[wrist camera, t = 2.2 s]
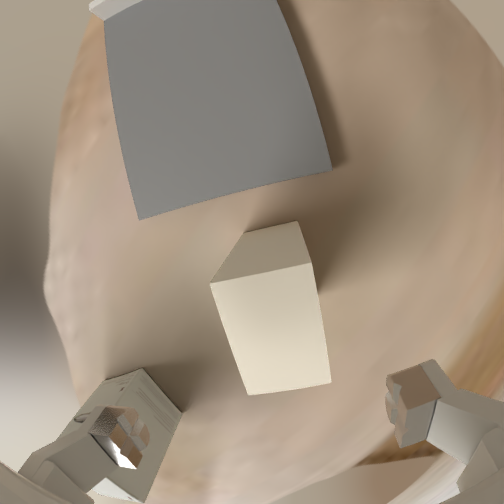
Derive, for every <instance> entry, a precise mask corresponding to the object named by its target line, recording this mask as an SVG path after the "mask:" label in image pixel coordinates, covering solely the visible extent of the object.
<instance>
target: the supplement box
mask: <svg viewBox="0 0 504 504" xmlns="http://www.w3.org/2000/svg"><path fill="white" fill-rule="evenodd" d="M99 404H104V405H114V406H124V407H131V408H135V410H136V411H137V413H138V414H139V418H138V419H139V420H141V421H142V422H143V423H145V425H146V426H147V428H148V430H149V433H150V441H149V443H148V446H147V447H146V448H145V449H143V450H142V451H141V452H142V455H143V457H142V459H141V461H140V463H139V465H138V468H137V469H133V468H127V467H121V466H118V468H117V469H115V470H114V471H113V472H112V473H111V474H109V475H108V476H107V477H106V478H105V479H103V480H102V481H101V482H100V483H98V484H97V485H96V486H95V487H93V488H92V490H94V491H95V492H97V493H98V494H100V495H103V496H108V497H113V498H118V499H123V500H129V501H135V502H141V503H144V502H145V500H146V498H147V496H148V493H149V491H150V489H151V486H152V484H153V482H154V479H155V477H156V475H157V472H158V470H159V468H160V465H161V463H162V461H163V458H164V456H165V454H166V451H167V449H168V447H169V444H170V442H171V439H172V437H173V435H174V432H175V430H176V428H177V425H178V423H179V421H180V418H181V416H182V413H181V412H180V411H179V410H178V409H177V407H176V406H175V405H174V404H173V403H172V402H171V401H170V400H169V398H168V397H167V396H166V395H165V394H164V393H163V392H162V390H161V389H160V388H159V387H158V386H157V385H156V383H155V382H154V381H153V380H152V379H151V378H150V376H149V375H148V374H147V373H146V372H145V370H144V369H142V368H140V369H138V370H136V371H133V372H131V373H128V374H125V375H122V376H119V377H116V378H112V379H108V380H104V381H103V382H102V383H101V384H100V385H99V387H98V388H97V389H96V390H95V391H94V393H93V394H92V395H91V396H90V397H89V399H88V400H87V401H86V402H85V404H84V405H83V406H82V407H81V409H80V410H79V411H78V412H77V414H76V415H75V416H74V417H73V419H72V420H71V421H70V423H69V424H68V425H67V427H66V428H65V429H64V431H63V432H62V434H60V436H59V437H58V438H57V440H58V439H60V438H62V437H64V436H66V435H67V434H69V433H71V432H73V431H78V429H79V428H80V427H81V425H82V424H83V423H84V421H85V420H86V418H87V417H88V416H89V414H90V413H91V412H92V410H93V409H94V408H95V406H96V405H99Z"/></svg>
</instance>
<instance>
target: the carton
mask: <svg viewBox="0 0 504 504" xmlns="http://www.w3.org/2000/svg"><path fill="white" fill-rule="evenodd" d="M210 287H211V290H212V293H213V296H214V299H215V302H216V305H217V308H218V311H219V314H220V317H221V320H222V323H223V326H224V329H225V332H226V335H227V338H228V341H229V344H230V347H231V350H232V352H233V355H234V358H235V361H236V364H237V366H238V369H239V372H240V375H241V377H242V380H243V383H244V385H245V388H246V391H247V393H248V395H256V394H265V393H273V392H280V391H287V390H294V389H300V388H306V387H311V386H317V385H322V384H327V383H331V375H330V368H329V361H328V354H327V347H326V341H325V334H324V328H323V322H322V316H321V310H320V304H319V299H318V293H317V288H316V282H315V277H314V272H313V267H312V262H311V259H310V256H309V253H308V250H307V247H306V244H305V241H304V238H303V235H302V232H301V229H300V226H299V224H298V221H294V222H290V223H285V224H281V225H276V226H272V227H268V228H263V229H259V230H254V231H250V232H246V233H243V234H242V236H241V237H240V239H239V240H238V242H237V243H236V245H235V246H234V248H233V249H232V251H231V252H230V254H229V255H228V257H227V258H226V260H225V261H224V263H223V264H222V266H221V267H220V269H219V270H218V272H217V273H216V275H215V276H214V278H213V279H212V281H211V282H210Z"/></svg>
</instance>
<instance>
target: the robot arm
mask: <svg viewBox="0 0 504 504" xmlns="http://www.w3.org/2000/svg"><path fill="white" fill-rule="evenodd" d="M386 386H387V388H388V390H389V391H388V393H387V394H386V400H385V403H386V411H387V414H388V418H389V420H390V422H391V423H392V424H394V425H395V431H394V433H395V436H396V439H397V441H398V444H399V446H400V448H403V447H406V446H409V445H412V444H414V443H417V442H420V441H423V440H425V439H427V441H428V442H430V443H431V444H433V445H434V446H436V447H438V448H439V449H441V450H442V451H444V452H446V453H447V454H449V455H451V456H452V457H454V458H456V459H457V460H459V461H461V462H462V463H464V464H466V465H467V466H466V468H465V469H464V471H463V472H462V474H461V476H460V477H459V479H458V481H457V482H456V483H457V485H458V488H459V490H460V494H458V495H456V496H454V497H452V498H450V499H448V500H446V501H444V502H441V503H439V504H504V402H501V401H498V400H495V399H492V398H488V397H485V396H482V395H479V394H476V393H473V392H470V391H467V390H464V389H460V390H457V389H456V387H455V386H454V385H453V383H452V382H451V381H450V379H449V378H448V377H447V375H446V374H445V373H444V371H443V370H442V369H441V367H440V366H439V365H438V363H437V362H436V361H435V360H433V359H431V360H428V361H426V362H423V363H421V364H418V365H416V366H413V367H410V368H407V369H404V370H401V371H399V372H396V373H393V374H389V375H387V378H386ZM138 418H139V414H138V413H137V411H136V410H135V408H131V407H124V406H114V405H104V404H99V405H96V406H95V408H94V409H93V410H92V412H91V413H90V414H89V416H88V417H87V418H86V420H85V421H84V423H83V424H82V425H81V427H80V428H79V429H78V431H73V432H71V433H69V434H67V435H66V436H64V437H62V438H60V439H58V440H56V441H54V442H52V443H51V444H49V445H47V446H45V447H43V448H41V449H39V450H37V451H35V452H33V453H32V454H31V455H30V457H29V458H28V459H27V461H26V462H25V463H24V465H23V466H22V467H21V469H20V470H19V471H18V473H17V472H15V471H14V470H12V469H11V468H10V467H8V466H7V465H5V464H4V463H2V462H1V461H0V504H94V500H93V499H92V498H91V497H89V496H88V495H87V494H86V493H87V492H88V491H90V490H91V489H92V488H93V487H95V486H96V485H97V484H98V483H100V482H101V481H102V480H103V479H105V478H106V477H107V476H108V475H109V474H111V473H112V472H113V471H114V470H115V469H117V468H118V466H121V467H127V468H133V469H137V468H138V465H139V463H140V461H141V459H142V457H143V455H142V452H141V451H142V450H143V449H145V448H146V447H147V446H148V443H149V441H150V433H149V430H148V428H147V426H146V425H145V423H143V422H142V421H141V420H139V419H138Z"/></svg>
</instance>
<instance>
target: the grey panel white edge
mask: <svg viewBox="0 0 504 504" xmlns="http://www.w3.org/2000/svg"><path fill="white" fill-rule="evenodd" d="M89 11H90V12H92V13H93V14H95V15H96V16H98V17H99V18H101V19H102V20H104V31H105V44H106V55H107V65H108V73H109V81H110V88H111V95H112V101H113V108H114V114H115V119H116V125H117V130H118V135H119V140H120V145H121V150H122V154H123V159H124V163H125V168H126V172H127V176H128V180H129V184H130V188H131V192H132V196H133V200H134V204H135V207H136V211H137V215H138V218H139V220H142V219H146V218H149V217H152V216H155V215H158V214H162V213H165V212H168V211H172V210H175V209H178V208H182V207H185V206H188V205H192V204H195V203H199V202H203V201H206V200H210V199H213V198H217V197H221V196H225V195H228V194H232V193H236V192H240V191H244V190H248V189H252V188H256V187H260V186H264V185H268V184H272V183H277V182H281V181H285V180H290V179H294V178H299V177H303V176H308V175H313V174H317V173H322V172H327V171H332V170H333V169H332V165H331V161H330V157H329V153H328V149H327V145H326V141H325V137H324V134H323V130H322V127H321V123H320V119H319V116H318V113H317V109H316V106H315V103H314V99H313V96H312V93H311V90H310V87H309V84H308V81H307V78H306V75H305V72H304V69H303V66H302V63H301V60H300V57H299V55H298V52H297V49H296V47H295V44H294V41H293V39H292V36H291V34H290V31H289V29H288V26H287V24H286V21H285V19H284V16H283V14H282V12H281V9H280V7H279V5H278V3H277V0H94V1H93V2H91V3H90V4H89Z"/></svg>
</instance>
